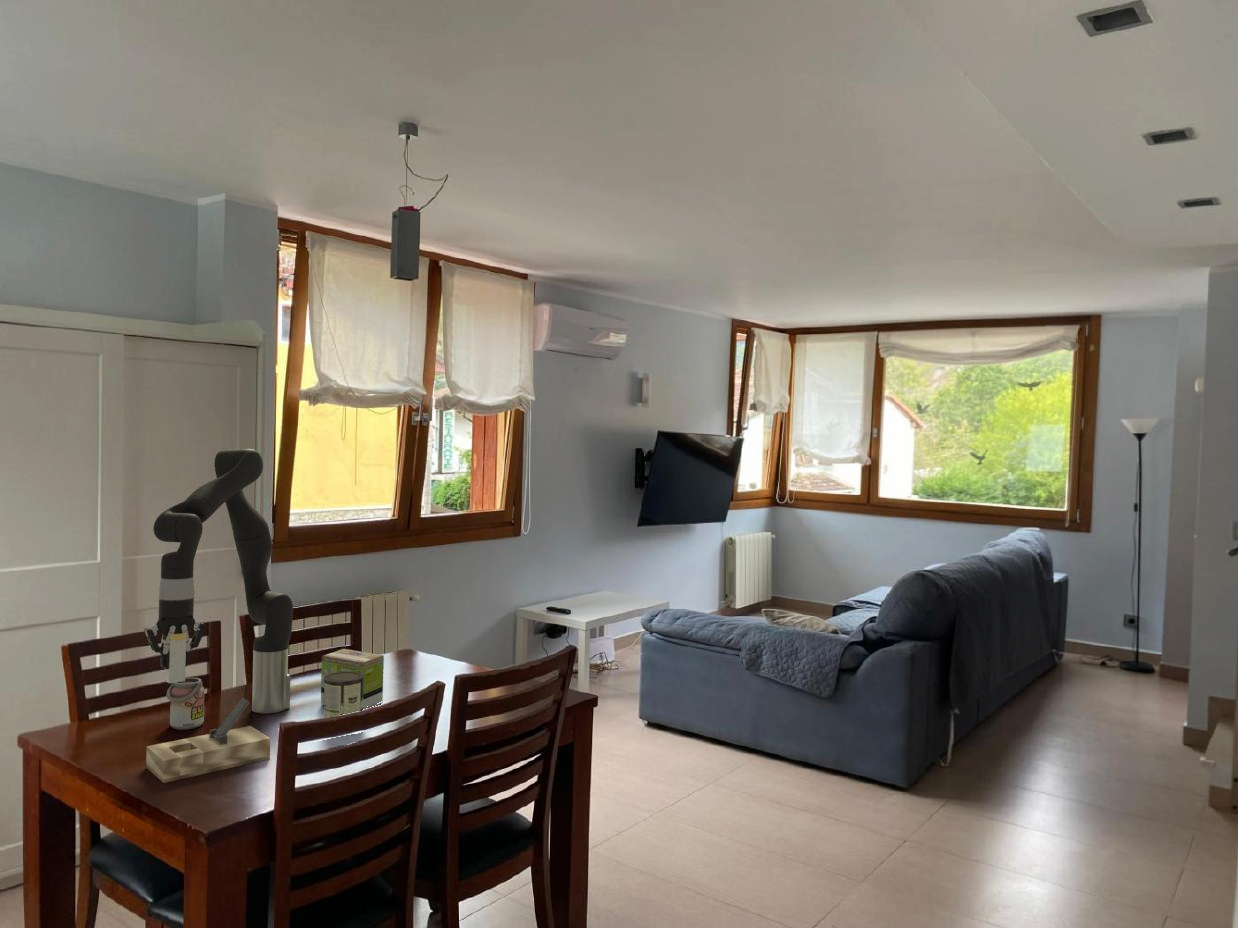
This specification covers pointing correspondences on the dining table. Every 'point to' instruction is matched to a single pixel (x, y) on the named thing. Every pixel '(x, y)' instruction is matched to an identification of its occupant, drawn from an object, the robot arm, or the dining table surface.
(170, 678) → the pin
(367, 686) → the tea box
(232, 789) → the dining table surface
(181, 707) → the beverage can
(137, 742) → the dining table surface
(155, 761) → the block
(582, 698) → the dining table surface
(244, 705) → the lever
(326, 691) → the coffee can
